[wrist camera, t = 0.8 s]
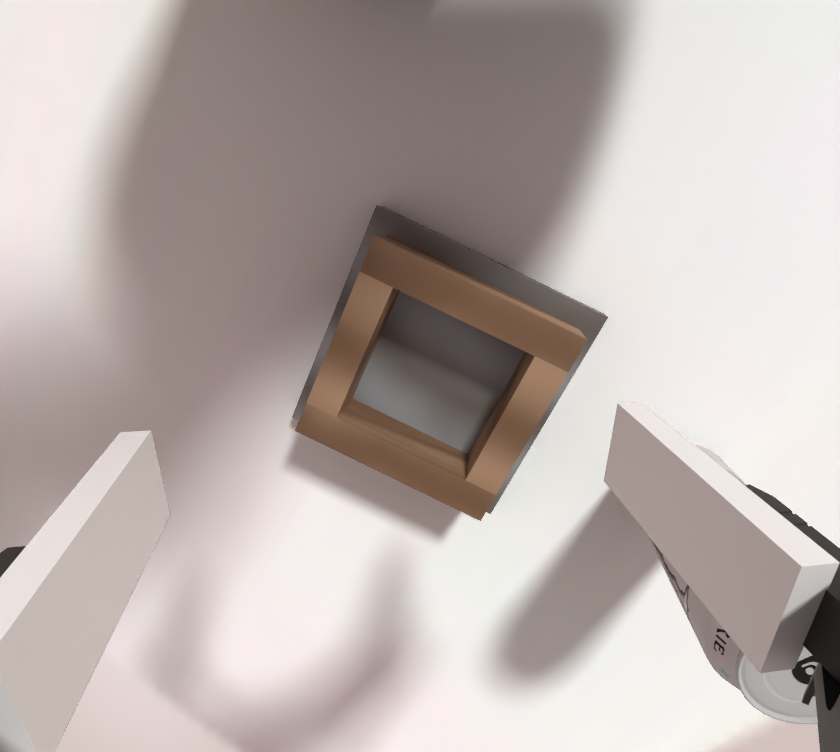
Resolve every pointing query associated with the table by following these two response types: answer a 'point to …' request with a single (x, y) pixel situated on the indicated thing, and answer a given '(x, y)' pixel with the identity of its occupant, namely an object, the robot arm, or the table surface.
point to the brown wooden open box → (441, 364)
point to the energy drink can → (762, 690)
